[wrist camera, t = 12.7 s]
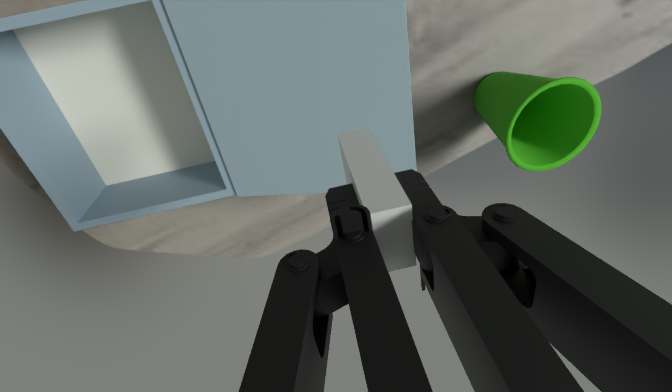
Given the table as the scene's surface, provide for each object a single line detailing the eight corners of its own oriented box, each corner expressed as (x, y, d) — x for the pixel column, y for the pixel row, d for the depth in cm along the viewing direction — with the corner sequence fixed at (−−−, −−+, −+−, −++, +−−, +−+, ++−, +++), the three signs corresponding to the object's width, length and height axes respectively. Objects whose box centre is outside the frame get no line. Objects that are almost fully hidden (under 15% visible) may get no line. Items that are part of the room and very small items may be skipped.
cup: (442, 118, 44) (488, 159, 35) (482, 40, 40) (546, 62, 31) (503, 139, 47) (560, 182, 37) (546, 68, 43) (623, 96, 33)
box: (2, 19, 33) (-68, 32, 26) (180, -19, 33) (157, -15, 27) (105, 189, 43) (74, 231, 36) (243, 158, 43) (237, 194, 36)
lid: (399, -70, 22) (400, -70, 23) (156, -17, 26) (161, -18, 27) (417, 188, 32) (417, 184, 32) (237, 196, 36) (240, 192, 37)
